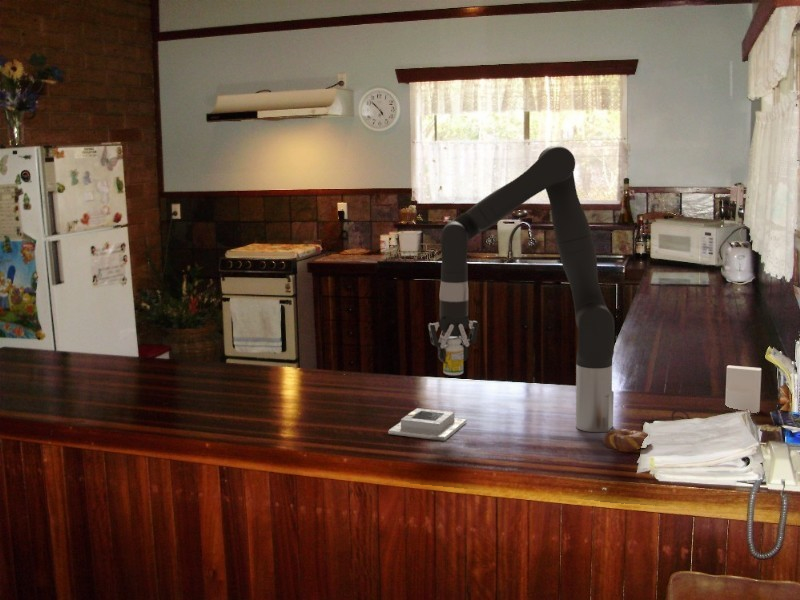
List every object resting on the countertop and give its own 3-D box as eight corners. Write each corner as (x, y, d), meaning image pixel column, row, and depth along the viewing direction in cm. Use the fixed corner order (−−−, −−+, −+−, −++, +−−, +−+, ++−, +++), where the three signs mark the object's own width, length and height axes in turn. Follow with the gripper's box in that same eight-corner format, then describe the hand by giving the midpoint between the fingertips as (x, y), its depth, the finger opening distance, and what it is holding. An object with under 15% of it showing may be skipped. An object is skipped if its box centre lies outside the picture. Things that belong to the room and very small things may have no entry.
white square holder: (466, 422, 245) (466, 409, 244) (444, 440, 230) (444, 427, 230) (412, 416, 251) (412, 404, 251) (388, 433, 237) (388, 420, 236)
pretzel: (644, 438, 230) (644, 424, 229) (657, 452, 219) (658, 438, 218) (597, 439, 229) (598, 425, 229) (609, 453, 219) (609, 439, 218)
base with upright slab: (722, 412, 249) (724, 370, 247) (727, 403, 256) (729, 362, 254) (757, 415, 244) (759, 373, 242) (761, 407, 252) (763, 365, 250)
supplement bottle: (465, 375, 237) (466, 339, 235) (446, 376, 236) (446, 340, 234) (460, 370, 242) (460, 335, 240) (441, 371, 241) (441, 336, 239)
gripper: (432, 301, 230) (431, 365, 233) (484, 299, 234) (483, 362, 237) (423, 296, 237) (423, 359, 240) (474, 294, 241) (473, 355, 244)
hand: (453, 360), depth 238 cm, fingers closed on supplement bottle, 5 cm apart
